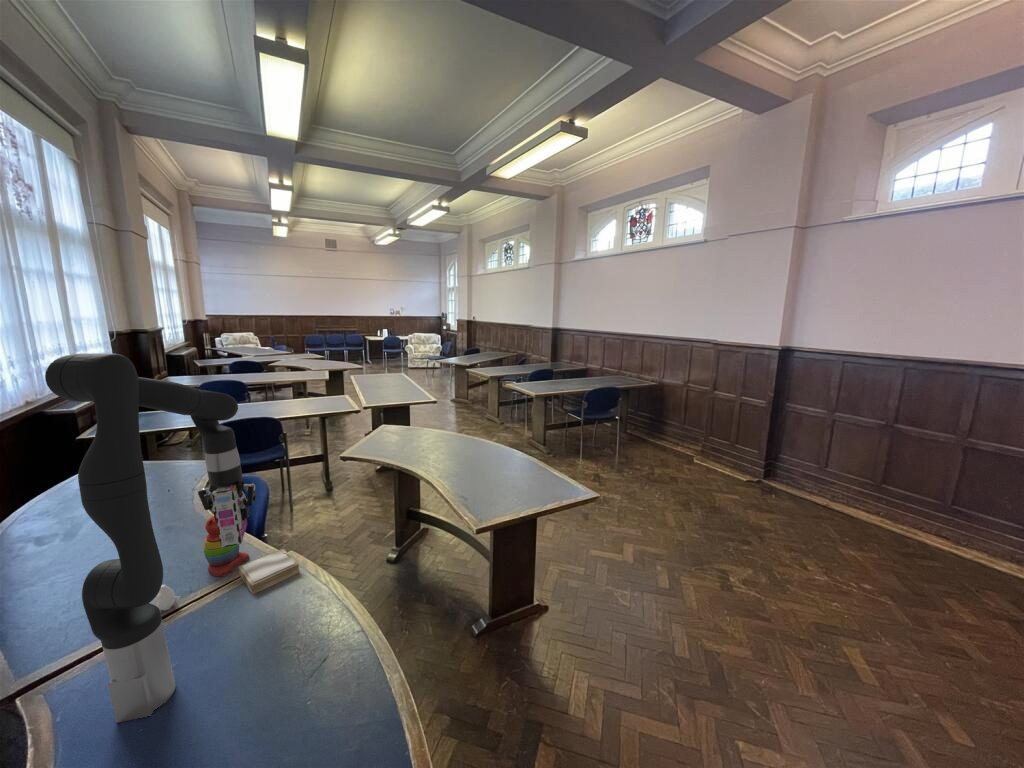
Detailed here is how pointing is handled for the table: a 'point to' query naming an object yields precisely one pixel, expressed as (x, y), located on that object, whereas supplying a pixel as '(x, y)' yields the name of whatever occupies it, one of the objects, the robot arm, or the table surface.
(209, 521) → the stacking bear
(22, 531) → the table surface
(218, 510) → the candy bar box
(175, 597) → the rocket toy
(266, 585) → the tray
